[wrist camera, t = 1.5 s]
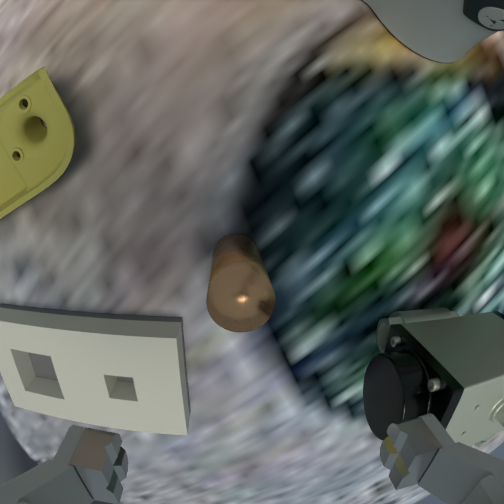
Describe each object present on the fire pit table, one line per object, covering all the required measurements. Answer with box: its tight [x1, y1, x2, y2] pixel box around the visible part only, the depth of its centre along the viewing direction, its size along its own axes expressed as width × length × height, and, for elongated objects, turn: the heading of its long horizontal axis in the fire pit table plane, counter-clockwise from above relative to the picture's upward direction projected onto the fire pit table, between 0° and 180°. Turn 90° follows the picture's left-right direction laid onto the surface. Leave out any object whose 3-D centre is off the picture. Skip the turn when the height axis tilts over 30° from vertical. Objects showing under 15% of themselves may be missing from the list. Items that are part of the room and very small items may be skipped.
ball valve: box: [363, 307, 504, 447], centre depth 23 cm, size 18×8×18 cm, turn 88°
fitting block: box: [0, 304, 190, 435], centre depth 28 cm, size 22×12×4 cm, turn 88°
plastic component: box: [0, 67, 75, 219], centre depth 22 cm, size 20×7×10 cm
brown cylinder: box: [206, 234, 275, 332], centre depth 23 cm, size 4×4×10 cm
